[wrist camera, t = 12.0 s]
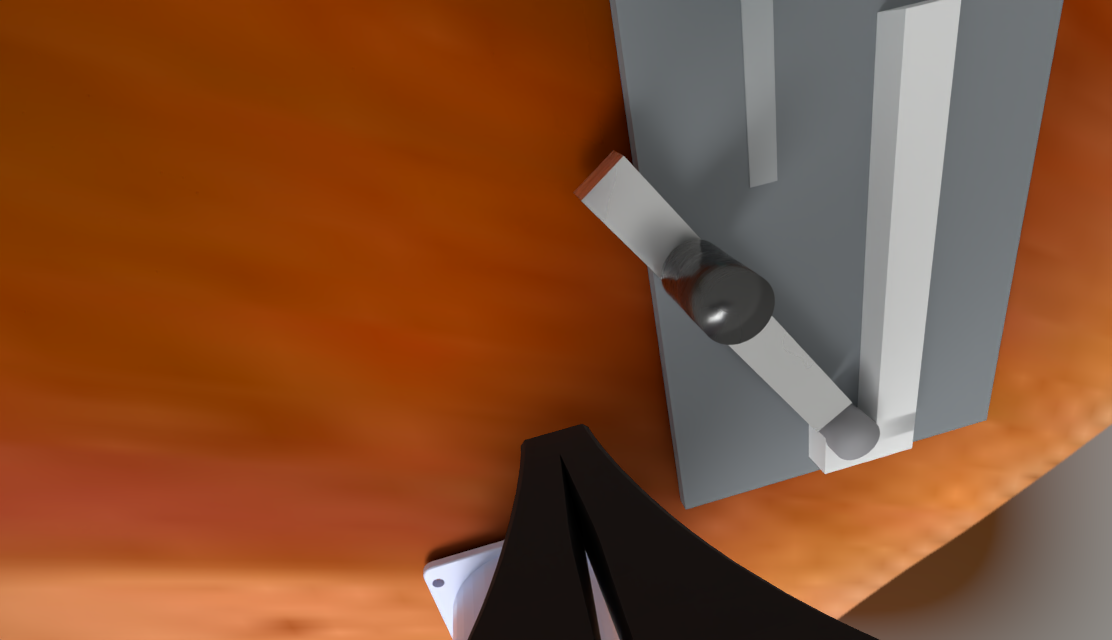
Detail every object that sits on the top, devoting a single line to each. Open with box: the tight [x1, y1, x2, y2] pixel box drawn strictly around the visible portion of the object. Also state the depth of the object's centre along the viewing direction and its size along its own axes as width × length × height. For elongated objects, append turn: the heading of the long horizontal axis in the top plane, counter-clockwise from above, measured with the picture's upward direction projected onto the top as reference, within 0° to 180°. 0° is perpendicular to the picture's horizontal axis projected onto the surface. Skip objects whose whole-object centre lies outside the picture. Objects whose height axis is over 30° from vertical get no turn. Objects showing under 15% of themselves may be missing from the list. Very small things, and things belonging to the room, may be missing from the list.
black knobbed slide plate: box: [573, 151, 852, 432], centre depth 18 cm, size 14×2×4 cm, turn 46°
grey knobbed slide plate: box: [610, 0, 1063, 509], centre depth 19 cm, size 25×15×2 cm, turn 12°
